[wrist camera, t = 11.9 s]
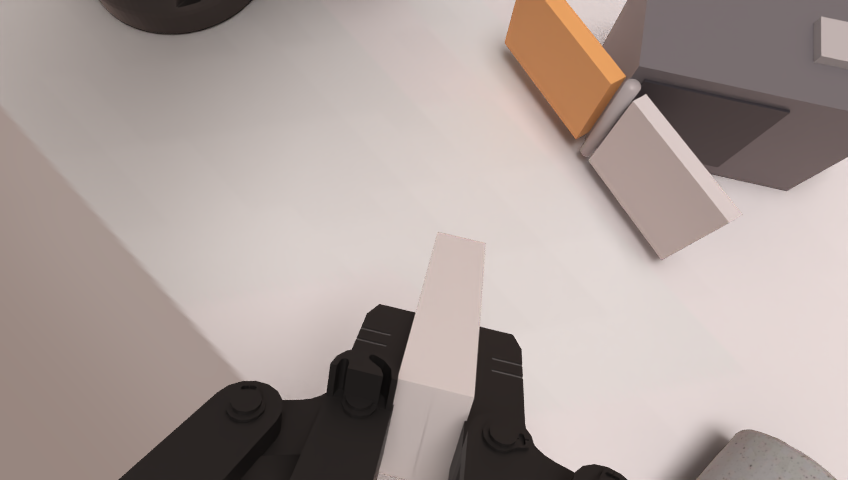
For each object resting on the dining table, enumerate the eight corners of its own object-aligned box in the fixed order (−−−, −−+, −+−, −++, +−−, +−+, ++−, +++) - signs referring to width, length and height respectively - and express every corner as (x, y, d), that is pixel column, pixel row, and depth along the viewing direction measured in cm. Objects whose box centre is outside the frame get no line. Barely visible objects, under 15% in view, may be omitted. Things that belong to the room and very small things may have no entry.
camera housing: (583, 147, 40) (643, 62, 30) (598, 53, 43) (657, -55, 33) (813, 199, 39) (954, 129, 29) (813, 99, 42) (942, 3, 32)
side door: (503, 48, 41) (525, -36, 33) (515, 42, 42) (540, -43, 34) (659, 261, 36) (730, 222, 28) (672, 253, 36) (746, 212, 28)
